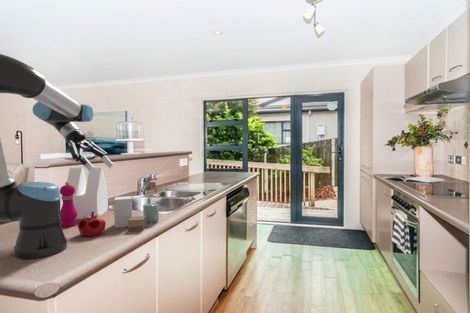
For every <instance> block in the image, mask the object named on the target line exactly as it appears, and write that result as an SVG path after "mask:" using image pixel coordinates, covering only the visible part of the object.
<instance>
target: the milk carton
mask: <svg viewBox="0 0 470 313" xmlns="http://www.w3.org/2000/svg"><path fill="white" fill-rule="evenodd" d="M86 177H87V178H86ZM66 182H69V183H70V184H69V185H72V186H74V188H75V193H74V194H73V195H74V198H73V204H74V207H75V209H76V211H77V217H76V219H75V220H81V219H83V218H84V216H85V218H86V217H87V216H90V215H91V214H92V212H94V216H95V215H98V214H100V215H98V216H97V217H99V216H100V217H101V216H102V215H103V214H104V213H106V212H107V211H108V210H109V207H108V206H109V203H108V202H109V200H108V198H109V197H108V196H109V193H108V186H107V182H106V177H105V172H104V168H103V167H102V166H97V167H96V166H94V168H93V169H92V170H91V171H88V175H87V176H86V173H85V170H84V166H82V167H78V166H77V167H69V170H68V175H67V180H66ZM100 217H99V218H100Z"/></svg>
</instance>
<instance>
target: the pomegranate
mask: <svg viewBox="0 0 470 313" xmlns="http://www.w3.org/2000/svg"><path fill="white" fill-rule="evenodd" d="M98 215H100V214H98ZM98 215H95V216H94V212H92V214H91V215H90V216H87V217H86V218H85V216H84V218H83V219H79V222H78V224H77V227H78V231H79V233H80V235H81V236H83V237H96V236H100V235H101V234H102V233H103V232H105V229H106V224H107V223H106V221H105V220H104V219H103V218H101V216H99V217H97V216H98Z"/></svg>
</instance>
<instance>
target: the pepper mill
mask: <svg viewBox="0 0 470 313" xmlns="http://www.w3.org/2000/svg"><path fill="white" fill-rule="evenodd" d="M64 183H65V184H64V185H62V186H61V187H59V190H60V196H61V199H60V200H62V205H61V207H60V213H61V228H69V227H75V226H77V219H76V217H77V211H76V209H75V207H74V204H73V198H74V195H73V194H74V193H75V188H74V186H72V185H69V184H70V183H69V182H67V181H66V182H64Z"/></svg>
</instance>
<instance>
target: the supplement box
mask: <svg viewBox="0 0 470 313" xmlns="http://www.w3.org/2000/svg"><path fill="white" fill-rule="evenodd" d="M132 200H133V197H132V195H129V196H127V195H126V196H115V197H114V199H113V206H114V207H113V208H114V209H113V210H114V213H113V214H114V216H113V217H114V228H115V229H118V228H125V227H126V228H127V227H128V220H129V219H130V218H131V217H132V216H133V201H132Z"/></svg>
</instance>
